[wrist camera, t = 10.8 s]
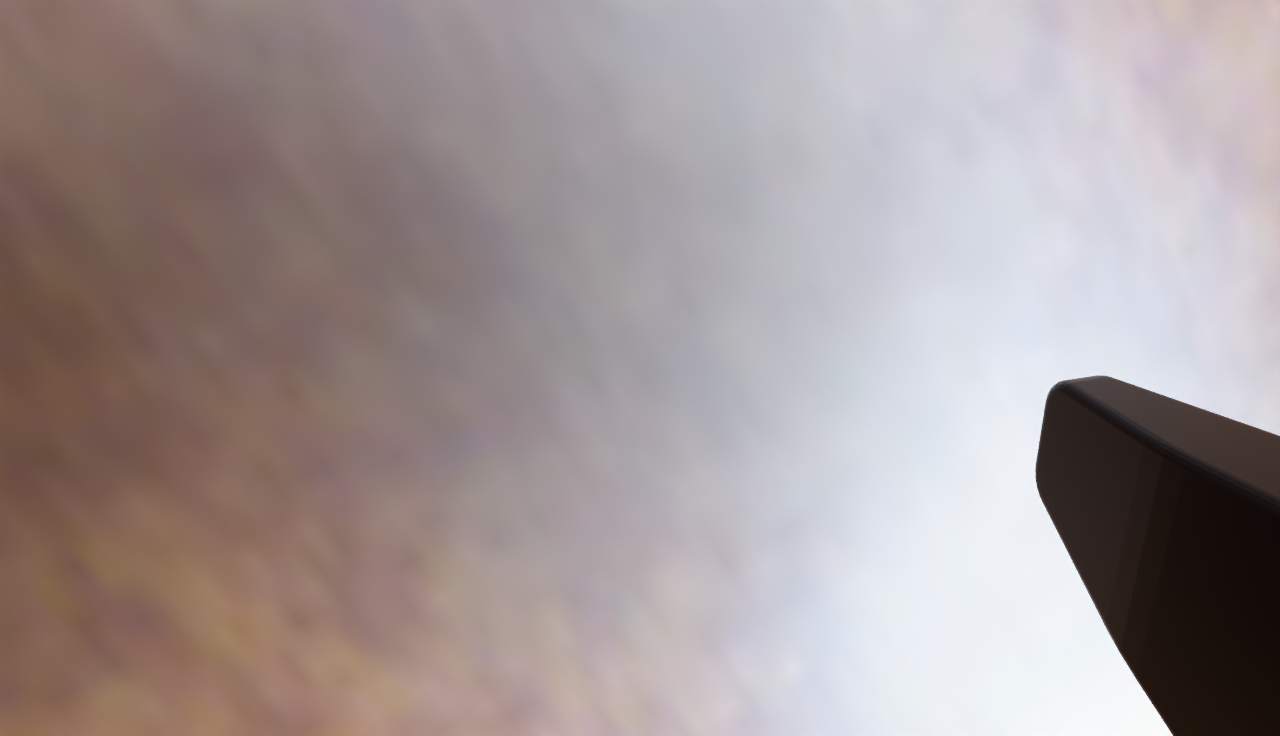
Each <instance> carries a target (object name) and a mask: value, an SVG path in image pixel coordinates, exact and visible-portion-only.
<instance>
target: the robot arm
mask: <svg viewBox="0 0 1280 736" xmlns="http://www.w3.org/2000/svg"><path fill="white" fill-rule="evenodd" d="M1036 483H1037V488H1038V491H1039V494H1040V497H1041V499H1042V502H1043V504H1044V506H1045V508H1046V510H1047V512H1048V514H1049V516H1050V517H1051V519H1052V521H1053V523H1054V525H1055V527H1056V529H1057V531H1058V533H1059V535H1060V537H1061V539H1062V541H1063V543H1064V545H1065V547H1066V549H1067V551H1068V553H1069V555H1070V557H1071V559H1072V561H1073V563H1074V565H1075V567H1076V569H1077V571H1078V573H1079V575H1080V577H1081V579H1082V581H1083V583H1084V585H1085V587H1086V589H1087V591H1088V593H1089V595H1090V597H1091V599H1092V601H1093V603H1094V605H1095V606H1096V608H1097V610H1098V612H1099V614H1100V616H1101V618H1102V620H1103V622H1104V624H1105V626H1106V628H1107V630H1108V632H1109V634H1110V635H1111V637H1112V639H1113V641H1114V643H1115V644H1116V646H1117V648H1118V650H1119V652H1120V653H1121V655H1122V657H1123V658H1124V660H1125V661H1126V663H1127V665H1128V666H1129V668H1130V670H1131V671H1132V673H1133V674H1134V676H1135V678H1136V679H1137V681H1138V682H1139V684H1140V685H1141V687H1142V688H1143V690H1144V691H1145V693H1146V695H1147V696H1148V698H1149V699H1150V701H1151V702H1152V704H1153V705H1154V707H1155V708H1156V710H1157V711H1158V713H1159V714H1160V716H1161V718H1162V719H1163V721H1164V722H1165V724H1166V725H1167V727H1168V728H1169V730H1170V731H1171V733H1172V734H1173V736H1280V436H1278V435H1275V434H1272V433H1270V432H1267V431H1264V430H1261V429H1258V428H1255V427H1252V426H1249V425H1247V424H1244V423H1241V422H1238V421H1235V420H1232V419H1229V418H1226V417H1224V416H1221V415H1218V414H1215V413H1212V412H1209V411H1206V410H1203V409H1201V408H1198V407H1195V406H1192V405H1189V404H1186V403H1183V402H1181V401H1178V400H1175V399H1172V398H1169V397H1166V396H1163V395H1160V394H1158V393H1155V392H1152V391H1149V390H1146V389H1143V388H1140V387H1137V386H1135V385H1132V384H1129V383H1126V382H1123V381H1120V380H1117V379H1114V378H1112V377H1108V376H1092V377H1085V378H1078V379H1072V380H1065V381H1060V382H1058V383H1057V384H1056V385H1054V386H1053V387H1052V388H1051V390H1050V392H1049V394H1048V396H1047V400H1046V404H1045V411H1044V417H1043V423H1042V430H1041V436H1040V442H1039V449H1038V455H1037V461H1036Z"/></svg>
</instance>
